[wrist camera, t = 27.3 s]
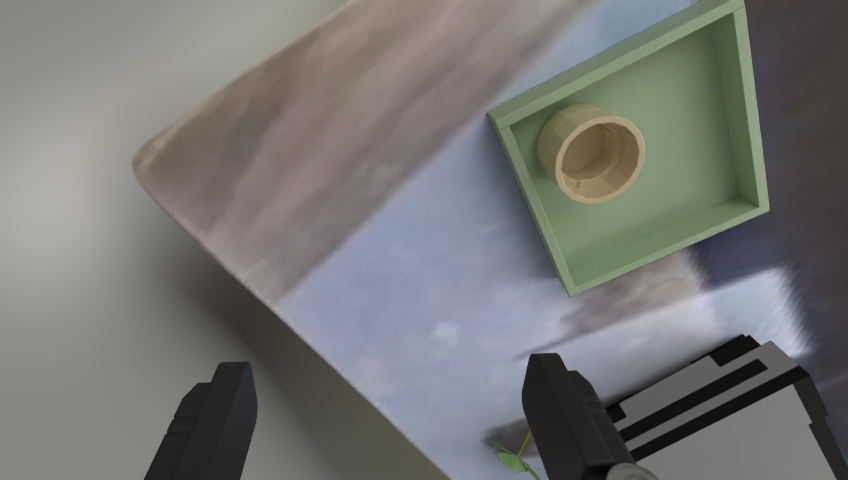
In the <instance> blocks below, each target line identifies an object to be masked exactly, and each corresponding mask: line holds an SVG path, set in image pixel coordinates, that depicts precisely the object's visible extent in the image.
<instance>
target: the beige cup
mask: <svg viewBox="0 0 848 480" xmlns="http://www.w3.org/2000/svg"><path fill="white" fill-rule="evenodd" d="M536 156H537V159H538V161H539V164H540V167H541V169H542V170H543V172H544V173H545V174H546V175H547V176H548V177H549V178H550V179H551V180H552V181H553V182H554V183H555V185H556V186H557V187H558V188H559V189H560V190H561V191H562V192H563V193H564V194H565V195H567V196H568V197H569V198H570V199H571V200H574V201H577V202H580V203H584V204H595V203H603V202H606V201H608V200H610V199H612V198H615V197H617V196H619V195H620V194H622V193H623V192H624V191H625V190H626V189H627V188H628V187H629V186H630V185H631V184H632V183H633V182H634V181H635V179H636V177H637V176H638V174H639V172H640V170H641V169H642V166H643V162H644V156H645V145H644V141H643V137H642V134H641V132H640V131H639V130H638V129H637V128H636V127H635V126H634V124H633V123H632V122H630V121H629V120H627V119H625V118H623V117H621V116H619V115H617V114H615V113H612V112H610V111H608V110H606V109H604V108H602V107H599V106H597V105H594V104H591V103H580V104H572V105H570V106H568V107H566V108H564V109H562V110H560V111H558V112H557V113H555V114H554V115H553V116H552V117H551V118H550V120H549V121H548V122H547V123H546V124H545V126H544V127H543V129H542V131H541V134H540V136H539V138H538V141H537V155H536Z"/></svg>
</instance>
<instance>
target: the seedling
mask: <svg viewBox="0 0 848 480" xmlns="http://www.w3.org/2000/svg"><path fill="white" fill-rule="evenodd" d="M530 434H531V429H530V431H529V433H528V435H527V438H526V440H525V442H524V444H523V446H522V448H521V450H520V452H519V454H518V456H516V455H515V454H513V453H512V452H511V451H509V450H508V449H506V448H505V447H503V446H501V445H500V444H498V443H496V442H493V441H491V440H489V442H490V443H492V444H493V445H495V446H497V447H498V448H500V449H502V450H504V451H506V452H507V453H509V454H507V453H502V452H499V453H498V457H499V458H500V460H501V461H502V462H503V463H504V464H505V465H506V466H507V467H508V468H510V469H511V470H513V471H515V472H517V473H521V472H527V470H528V471H529V472H530V473H531V475H532V476H533V477H534V478H535V479H536V480H540V478H539V477H538V476H537V474H536V473H535V472H534V471H533V470H532V469H531V468H530V466H529V465H528V464H527V463H525V462H524V461H523V460H522V459H520V458H519V456H520V454H521V452H522V450H523V448H524V446H525V444H526V442H527V440H528V438H529V436H530Z"/></svg>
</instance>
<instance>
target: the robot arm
mask: <svg viewBox="0 0 848 480" xmlns="http://www.w3.org/2000/svg"><path fill="white" fill-rule="evenodd" d="M522 404H523V410H524V413H525V416H526V418H527V421H528V424H529V427H530V429H531V432H532V435H533V437H534V440H535V443H536V446H537V448H538V451H539V454H540V457H541V459H542V462H543V465H544V467H545V470H546V473H547V476H548V478H549V480H659V479H658V478H657V477H656V476H655V475H654V474H653V473H651V472H650V471H648V470H647V469H645V468H643V467H641V466H638V465H637V464H636V462H635V461H634V459H633V457H632V456H631V454H630V452H629V450H628V448H627V447H626V445H625V443H624V441H623V440H622V438H621V436H620V434H619V433H618V431H617V429H616V427H615V426H614V424H613V422H612V420H611V419H610V417H609V415H607V414H606V410H605V408H604V406H603V405H602V403H601V402H600V401H599V398H598V396H597V394H596V392H595V390H594V389H593V387H592V385H591V383H589V382H588V381H587V380H586V379H585V378H584V377H583V376H582V375H581V374H580V373H578V372H577V371H576V370H575V371H568V370H567V369H566V367H565V365H564V363H563V361H562V359H561V357H560V356H559V354H557V353H541V354H531V355H530V357H529V361H528V366H527V371H526V375H525V380H524V384H523V389H522ZM257 407H258V405H257V396H256V390H255V384H254V379H253V373H252V367H251V364H250V362H221V363H220V364H219V365H218V367H217V369H216V371H215V374H214V376H213V378H212V381H211V383H198V384H196V386H194V388H192V390H191V391H190V392H189V393H188V394H187V395H186V396H185V397H184V398H183V399H182V401H181V403H180V405H179V407H178V409H177V411H176V413H175V415H174V420H172V422H171V424H170V426H169V428H168V430H167V434H166V435H165V436H164V438H163V440H162V443H161V445H160V447H159V449H158V451H157V453H156V455H155V457H154V459H153V461H152V463H151V466H150V468H149V470H148V472H147V474H146V476H145V478H144V480H240V478H241V474H242V471H243V467H244V463H245V460H246V456H247V453H248V449H249V445H250V442H251V438H252V435H253V431H254V427H255V424H256V418H257Z"/></svg>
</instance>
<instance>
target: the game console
mask: <svg viewBox="0 0 848 480" xmlns="http://www.w3.org/2000/svg"><path fill="white" fill-rule="evenodd" d="M605 410H606V414H607V415H609V417H610V419H611V420H612V422H613V424H614V426H615V427H616V429H617V431H618V433H619V434H620V436H621V438H622V440H623V441H624V443H625V445H626V447H627V448H628V450H629V452H630V454H631V456H632V457H633V459H634V461H635V462H636V464H637V465H638V466H641V467H643V468H645V469H647V470H648V471H650V472H651V473H653V474H654V475H655V476H656V477H657V478H658V479H659V480H848V466H847V464H846V462H845V460H844V458H843V456H842V454H841V452H840V450H839V448H838V446H837V444H836V442H835V439H834V437H833V435H832V433H831V431H830V429H829V427H828V425H827V423H826V421H825V419H824V417H825V416H827V415H829V414H828V412H827V410H826V408H825V406H824V404H823V402H822V400H821V397H820V395H819V393H818V391H817V389H816V387H815V385H814V383H813V381H812V378H811V376H810V375H809V374H808V373H807V372H806V371H805V370H803V369H802V368H801V367H800V366H799V365H798V364H797V363H796V362H794V361H793V360H792V359H791V358H790V357H789V356H788V355H786V354H785V353H784V352H783V351H782V350H781V349H780V348H779V347H777V346H776V345H775V344H774V343H773V342H772V341H769V342H767V343H765V344H763V345H760V344H759V343H758V342H756V341H755V340H754V339H753V338H752V337H751V336H750V335H748V336H746V337H745V336H744V335H743V334H742V335H740V336H739V337H737V338H735V339H733V340H731V341H729V342H728V343H726V344H724V345H722V346H720V347H718V348H716V349H715V350H713V351H711V352H709V353H707V354H705V355H704V356H702V357H700V358H698V359H696V360H694V361H693V362H691V365H690V366H688V367H686V368H684V369H682V370H680V371H678V372H677V373H675V374H673V375H671V376H669V377H667V378H666V379H664V380H662V381H660V382H658V383H656V384H654V385H653V386H651V387H649V388H647V389H645V390H643V391H642V392H640V393H638V394H636V395H633V394H632V395H630V396H628V397H626V398H624V399H623V400H621V401H619V402H617V403H615V404H613V405H612V406H610V407H608V408H606V409H605Z"/></svg>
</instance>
